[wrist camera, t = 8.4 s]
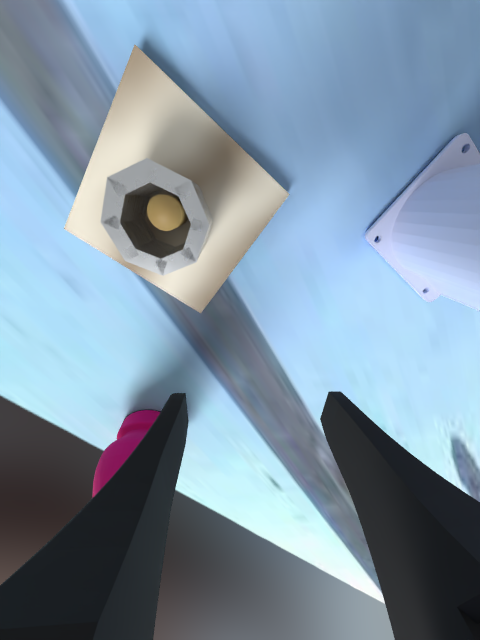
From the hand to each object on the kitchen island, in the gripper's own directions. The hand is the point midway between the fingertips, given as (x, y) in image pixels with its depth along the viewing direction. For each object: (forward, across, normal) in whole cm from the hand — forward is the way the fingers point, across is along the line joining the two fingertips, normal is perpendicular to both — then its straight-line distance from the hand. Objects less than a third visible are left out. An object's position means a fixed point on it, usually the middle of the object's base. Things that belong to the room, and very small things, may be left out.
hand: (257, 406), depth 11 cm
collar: (+9, +5, -8) cm, 13 cm away
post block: (+10, +5, -8) cm, 14 cm away
